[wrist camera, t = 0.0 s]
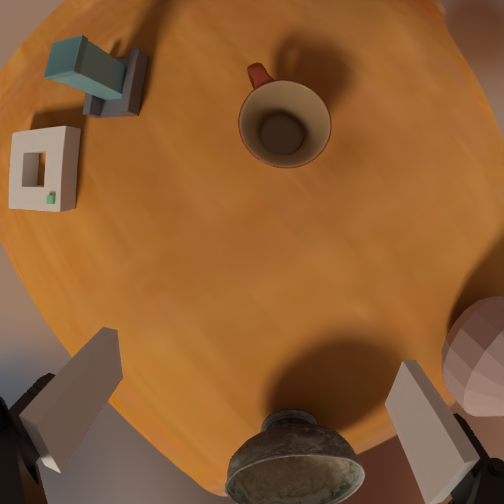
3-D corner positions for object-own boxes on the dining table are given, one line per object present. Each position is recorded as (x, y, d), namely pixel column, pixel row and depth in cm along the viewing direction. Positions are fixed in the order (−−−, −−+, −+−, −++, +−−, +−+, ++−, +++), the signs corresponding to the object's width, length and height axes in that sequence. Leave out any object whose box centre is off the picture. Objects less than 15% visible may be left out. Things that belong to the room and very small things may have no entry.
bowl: (364, 423, 47) (384, 484, 32) (282, 467, 50) (284, 526, 36) (301, 365, 44) (312, 436, 29) (212, 420, 48) (198, 486, 33)
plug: (109, 73, 34) (52, 43, 21) (134, 71, 34) (82, 35, 21) (104, 100, 35) (43, 77, 22) (129, 98, 35) (73, 71, 22)
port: (28, 134, 37) (10, 132, 33) (81, 128, 37) (63, 125, 32) (24, 205, 40) (6, 208, 36) (75, 208, 40) (57, 212, 35)
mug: (326, 155, 37) (346, 148, 27) (263, 181, 38) (261, 183, 28) (286, 73, 34) (292, 41, 24) (224, 99, 36) (210, 74, 26)
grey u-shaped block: (105, 61, 34) (93, 54, 31) (148, 56, 34) (139, 48, 31) (95, 117, 36) (82, 114, 33) (138, 115, 36) (127, 110, 33)
